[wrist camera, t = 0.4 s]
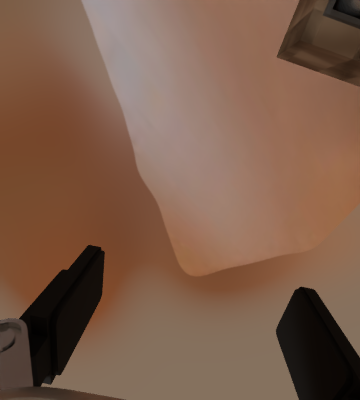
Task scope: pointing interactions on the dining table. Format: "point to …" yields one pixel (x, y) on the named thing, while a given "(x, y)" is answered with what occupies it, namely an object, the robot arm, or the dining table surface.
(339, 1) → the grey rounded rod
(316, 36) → the socket block
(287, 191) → the dining table surface
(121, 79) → the dining table surface
